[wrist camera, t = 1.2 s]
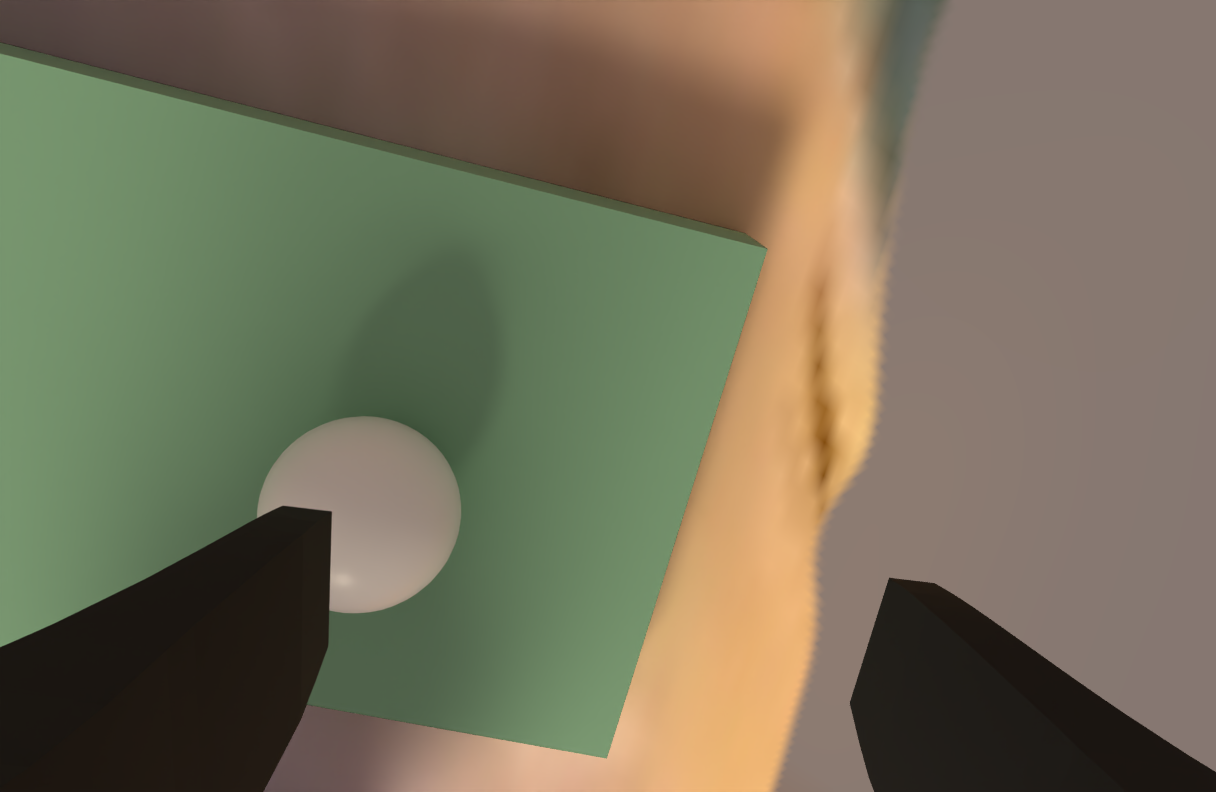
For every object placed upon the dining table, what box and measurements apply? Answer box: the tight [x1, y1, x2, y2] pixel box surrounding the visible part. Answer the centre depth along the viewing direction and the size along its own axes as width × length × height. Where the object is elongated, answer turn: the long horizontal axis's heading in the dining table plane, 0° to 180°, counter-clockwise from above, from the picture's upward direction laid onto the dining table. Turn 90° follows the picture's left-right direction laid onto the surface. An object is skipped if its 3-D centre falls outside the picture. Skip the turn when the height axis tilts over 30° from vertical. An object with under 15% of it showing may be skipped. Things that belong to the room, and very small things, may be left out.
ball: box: [257, 416, 461, 613], centre depth 16 cm, size 4×4×4 cm
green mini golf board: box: [0, 43, 767, 758], centre depth 17 cm, size 14×30×4 cm, turn 76°
